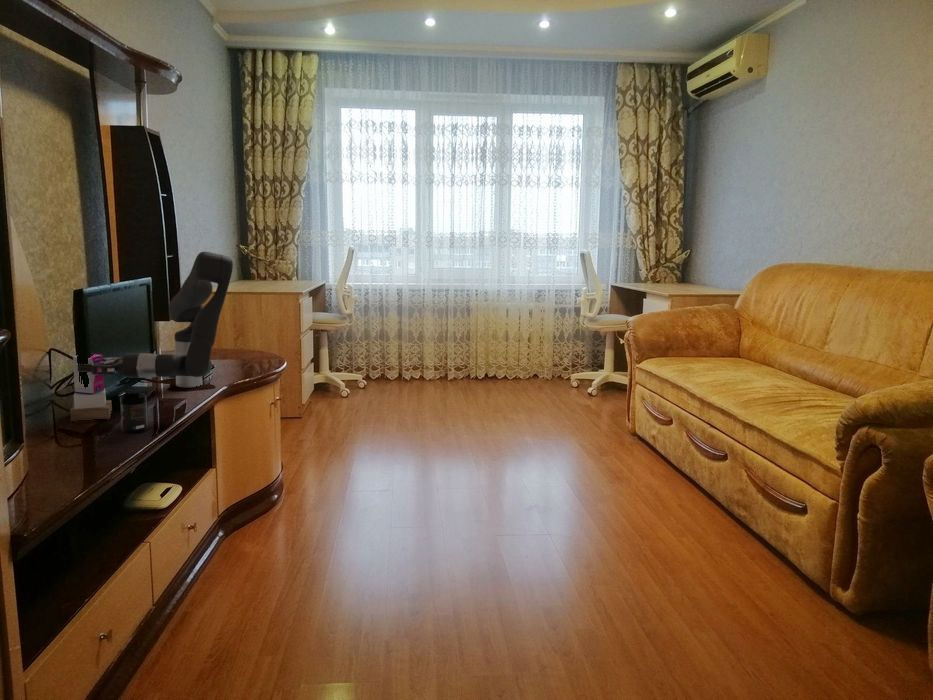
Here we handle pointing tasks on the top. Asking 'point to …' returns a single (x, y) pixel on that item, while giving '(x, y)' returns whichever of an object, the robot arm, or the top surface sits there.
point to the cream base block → (92, 412)
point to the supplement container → (133, 412)
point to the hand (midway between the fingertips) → (83, 365)
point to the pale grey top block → (90, 400)
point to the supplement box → (94, 379)
